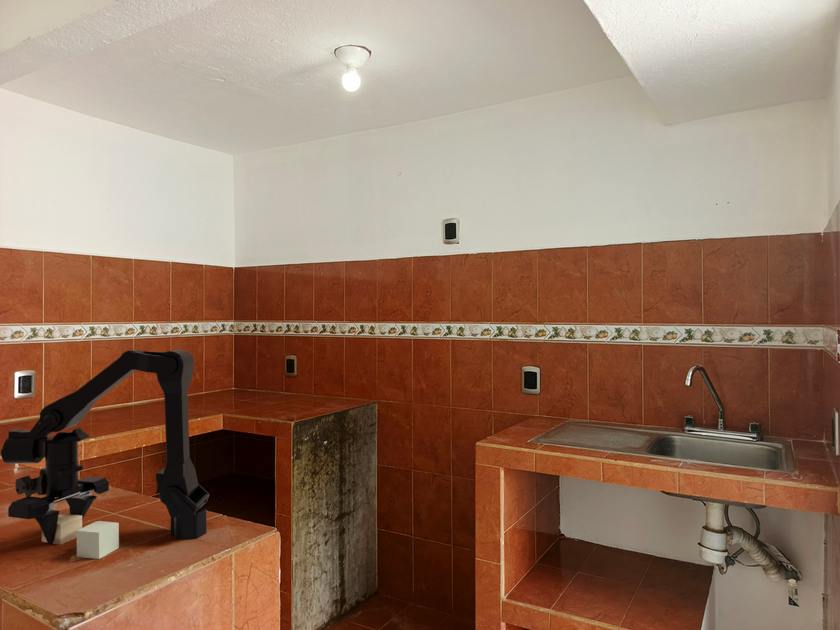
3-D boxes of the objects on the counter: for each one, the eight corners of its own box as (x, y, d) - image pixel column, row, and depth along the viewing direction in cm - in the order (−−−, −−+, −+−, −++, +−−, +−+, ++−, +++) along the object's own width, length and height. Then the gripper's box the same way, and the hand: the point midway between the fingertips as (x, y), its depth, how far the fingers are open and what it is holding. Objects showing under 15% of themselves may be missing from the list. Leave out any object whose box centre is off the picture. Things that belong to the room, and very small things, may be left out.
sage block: (118, 547, 110) (118, 522, 110) (99, 558, 106) (98, 532, 106) (97, 545, 112) (97, 520, 112) (76, 556, 107) (76, 530, 107)
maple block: (82, 539, 117) (82, 515, 117) (60, 549, 113) (60, 524, 113) (63, 536, 119) (63, 513, 119) (41, 546, 114) (41, 521, 114)
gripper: (71, 449, 127) (71, 518, 127) (-14, 471, 109) (-13, 551, 109) (110, 452, 124) (111, 523, 124) (30, 476, 106) (30, 558, 106)
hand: (62, 537), depth 116 cm, fingers closed on maple block, 5 cm apart
